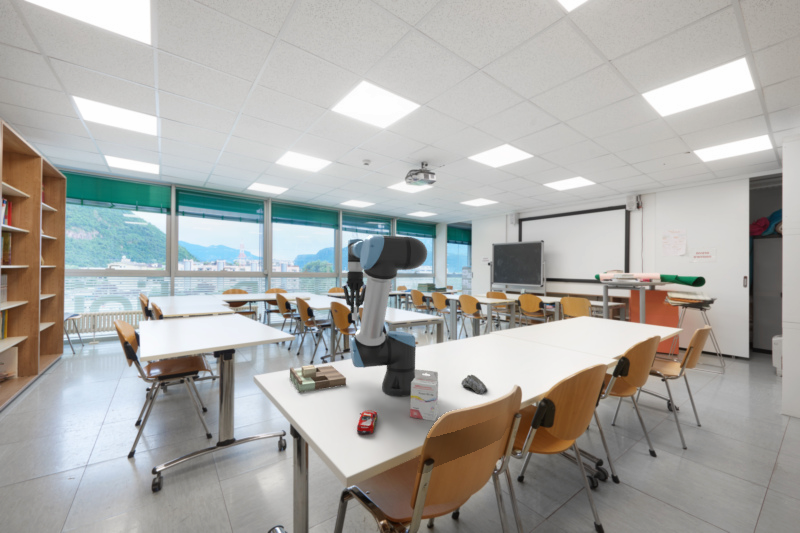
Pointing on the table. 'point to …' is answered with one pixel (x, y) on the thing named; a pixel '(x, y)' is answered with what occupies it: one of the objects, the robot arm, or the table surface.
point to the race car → (367, 422)
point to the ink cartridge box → (424, 395)
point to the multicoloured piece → (317, 379)
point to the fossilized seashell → (474, 384)
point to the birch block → (308, 371)
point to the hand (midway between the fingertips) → (354, 319)
